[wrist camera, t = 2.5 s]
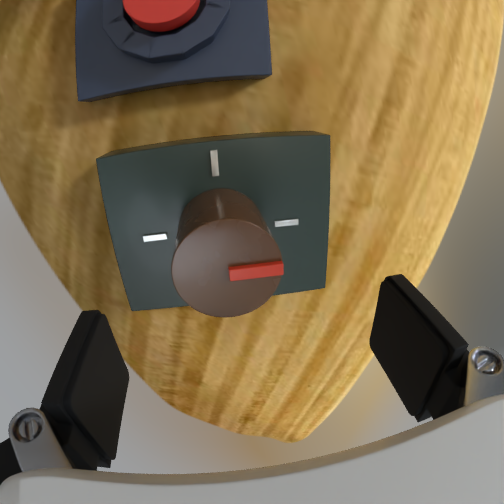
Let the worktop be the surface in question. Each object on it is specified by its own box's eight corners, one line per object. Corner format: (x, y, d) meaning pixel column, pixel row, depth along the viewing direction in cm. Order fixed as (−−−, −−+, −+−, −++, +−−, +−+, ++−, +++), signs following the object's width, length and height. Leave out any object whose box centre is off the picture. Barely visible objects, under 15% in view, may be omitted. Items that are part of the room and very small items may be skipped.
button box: (90, 102, 16) (65, 101, 12) (89, -17, 12) (67, -38, 8) (264, 78, 17) (279, 71, 13) (256, -40, 13) (268, -67, 9)
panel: (138, 287, 22) (131, 312, 19) (110, 151, 18) (94, 159, 15) (311, 267, 23) (326, 289, 20) (313, 130, 19) (331, 135, 16)
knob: (185, 271, 18) (181, 326, 14) (172, 193, 16) (160, 229, 12) (264, 261, 19) (284, 314, 14) (260, 184, 17) (284, 215, 12)
